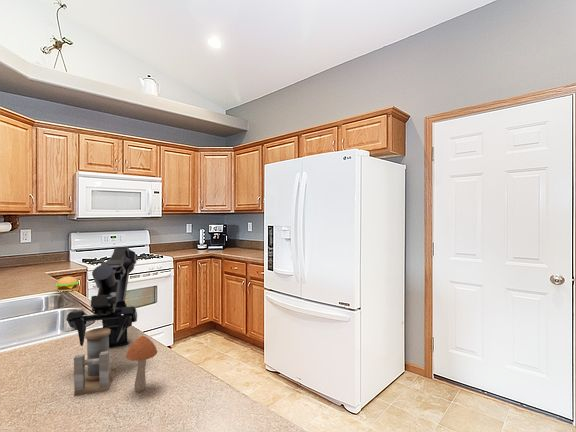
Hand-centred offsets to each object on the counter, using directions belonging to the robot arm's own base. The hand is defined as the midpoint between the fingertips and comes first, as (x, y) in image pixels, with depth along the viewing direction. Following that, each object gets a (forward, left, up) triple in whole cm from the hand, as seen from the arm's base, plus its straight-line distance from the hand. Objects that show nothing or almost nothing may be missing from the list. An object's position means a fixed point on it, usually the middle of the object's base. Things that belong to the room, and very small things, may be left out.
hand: (99, 343), depth 97 cm
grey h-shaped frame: (+1, +3, -10) cm, 11 cm away
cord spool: (0, +1, -9) cm, 9 cm away
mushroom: (-9, +15, -10) cm, 20 cm away
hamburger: (+5, -133, -10) cm, 133 cm away
